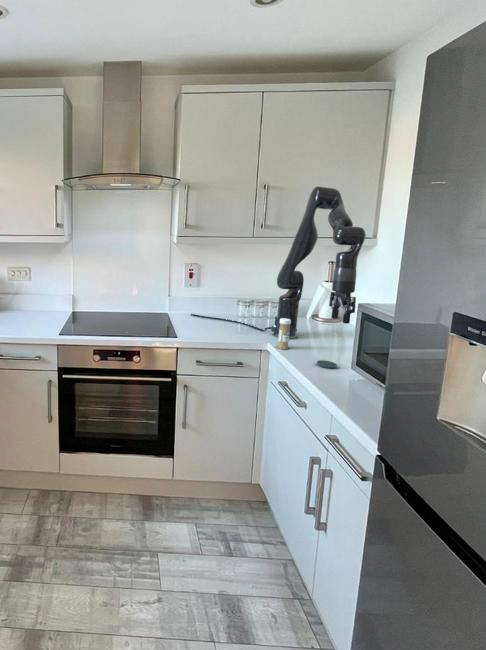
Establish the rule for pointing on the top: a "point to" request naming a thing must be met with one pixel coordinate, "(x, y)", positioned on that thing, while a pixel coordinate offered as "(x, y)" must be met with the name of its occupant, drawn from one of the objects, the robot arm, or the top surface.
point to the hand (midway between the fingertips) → (340, 320)
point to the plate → (326, 364)
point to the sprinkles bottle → (284, 333)
